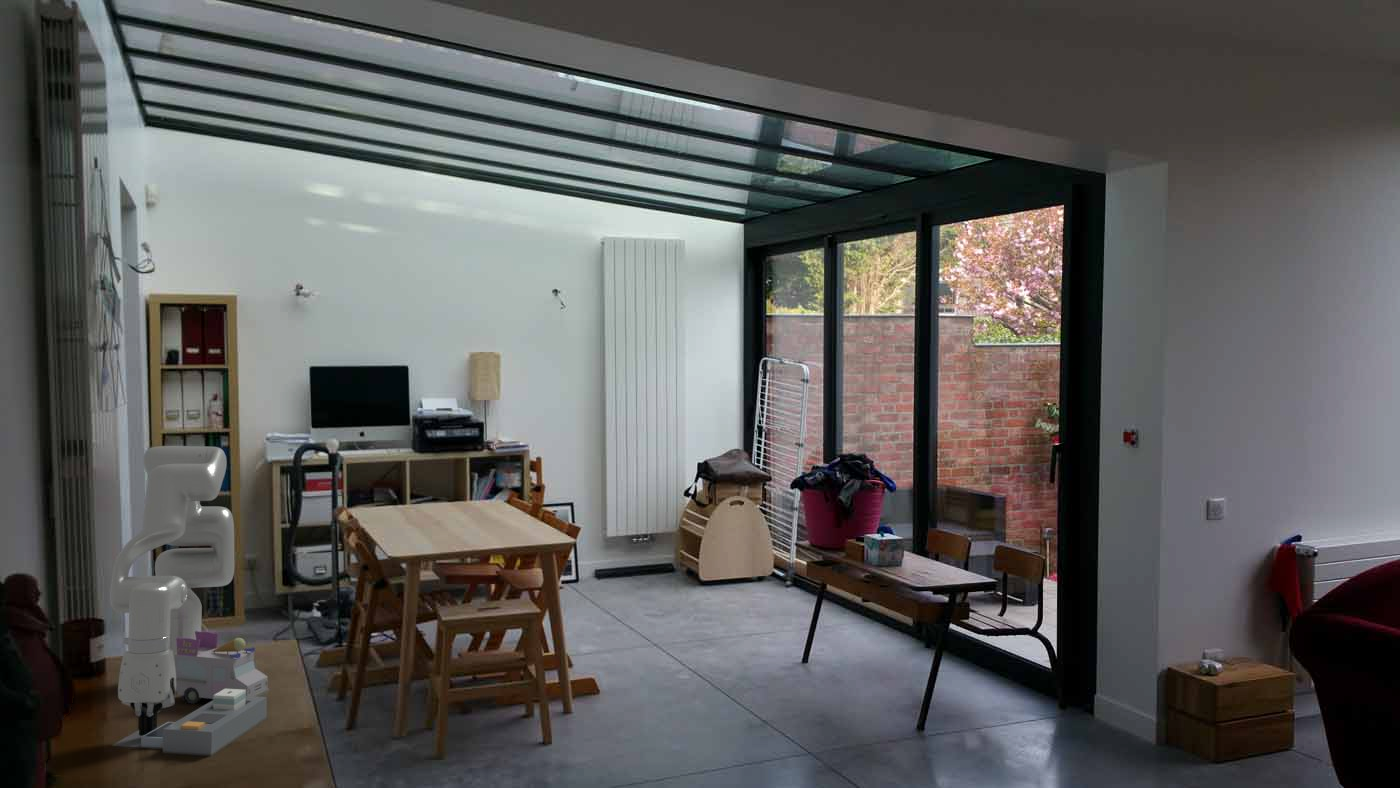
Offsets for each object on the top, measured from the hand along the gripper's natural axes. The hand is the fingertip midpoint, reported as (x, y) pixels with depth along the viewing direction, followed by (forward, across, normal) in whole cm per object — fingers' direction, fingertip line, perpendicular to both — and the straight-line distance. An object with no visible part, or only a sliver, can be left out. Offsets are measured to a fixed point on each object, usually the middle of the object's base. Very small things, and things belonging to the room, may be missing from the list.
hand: (147, 733), depth 212 cm
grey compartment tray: (+1, +13, +4) cm, 13 cm away
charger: (+1, +12, +9) cm, 15 cm away
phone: (+1, +4, 0) cm, 4 cm away
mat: (+1, +2, 0) cm, 2 cm away
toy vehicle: (+2, +2, +25) cm, 25 cm away
